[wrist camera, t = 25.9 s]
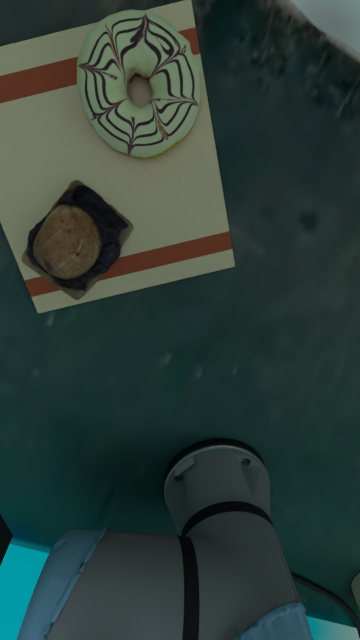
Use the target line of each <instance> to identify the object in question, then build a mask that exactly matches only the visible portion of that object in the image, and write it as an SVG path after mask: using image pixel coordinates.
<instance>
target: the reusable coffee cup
mask: <svg viewBox="0 0 360 640" xmlns="http://www.w3.org/2000/svg"><path fill="white" fill-rule="evenodd" d="M351 588H352V591H353V594H354V596H355V599H356V602H357V604H358V607H359V610H360V573H359V574H358V575H357V576H356V577H355V578H354V579H353V581H352V584H351Z"/></svg>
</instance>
